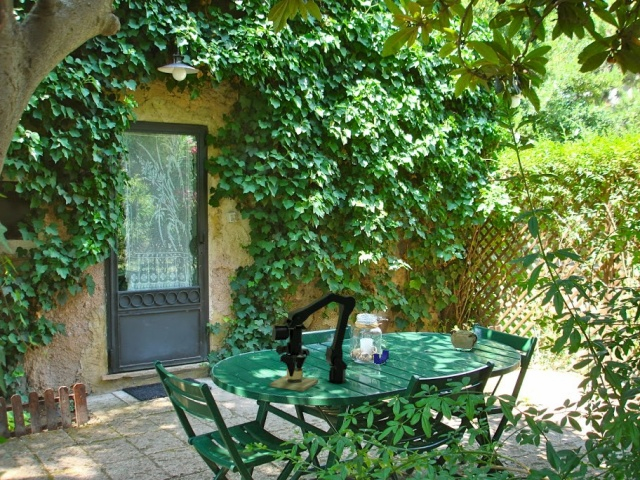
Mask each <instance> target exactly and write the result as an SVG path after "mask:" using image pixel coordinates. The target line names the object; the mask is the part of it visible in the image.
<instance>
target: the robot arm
mask: <svg viewBox="0 0 640 480" xmlns="http://www.w3.org/2000/svg"><path fill="white" fill-rule="evenodd" d="M331 303H336V304H338V306H337V307H338V317H337V321H336V327H335V331H334V335H333V340H332V343H331V345H330V347H328V346H326V351H325V353H324V356H325V360H326V362H327V363H328V364H329V367H330V368H329V371H328V382H329V383H336V384H343V383H345V382H347V379H346V370H347V368H348V364H347V363H346V362H345V360H343V357H344V351H343V345H344V344H343V343H344V339H345V336H346V332H347V326H348V323H349V319H350V315H352V313H353V311H354V309H355V307H356V305H357V300H356V298H355V297H354V296H351V295H348V294H343V295H340V294H336V293H334V292H331V291H328V292H326V293H325V294H324V295H322V296H320V297H319V298H317V299H316V300H314V301H312V302H310V303H309V304H307V305H305V306H303V307H299V308H296V309H294V310H291V311H290V312H289V313H288V316H287V319H286V320H285V321H284V322H283V324H273V328H272V331H271V338H272V339H271V340H273V341H287V340H288V341H287V342H286V344H285V345H281V344H279V345H276V347H275V352H276V354H277V355H278V356H279V355H280V357H279V361H280V362H281V363H284V364H285V365H286V367H287V368H286V369H288V371H289V374H290V376H291V377H292V376H293V374H294V371H295V368H301V369H303V366H304V364H305V362H306V360H307V359H308V357H309V356H310V350H309V348H303V345H304V341H303V330H307V329H308V328H307V327H306V326H305V325H304V323H305V322H306V321H307V320H308V319H309V317H311V315H313V314H315V313H317V312H318V311H320V310H321V309H322V308H324V307H326V306H328V305H329V304H331Z"/></svg>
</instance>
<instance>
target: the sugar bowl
mask: <svg viewBox="0 0 640 480" xmlns="http://www.w3.org/2000/svg"><path fill="white" fill-rule="evenodd" d="M463 327H464V328H463ZM450 342H451V344H452V346H453V347H454V349H455V348H463V349H471V348H473V349H474V348H475V347H476V345H477V342H478V335H477V334H476V333H474V332H472V331H470V330H468V329H467V326H466V324H461V325H460V329H459V330H454V329H452V330H451V332H450Z"/></svg>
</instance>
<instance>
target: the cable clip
mask: <svg viewBox="0 0 640 480" xmlns="http://www.w3.org/2000/svg"><path fill="white" fill-rule="evenodd" d="M375 353H376V354H374V363H376V364H381V363H384V362H386V360H387V359H389V360H390V350H387V349H382V353H381V356H380V353H377V352H375ZM386 363H387V362H386Z"/></svg>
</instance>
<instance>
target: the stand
mask: <svg viewBox="0 0 640 480" xmlns="http://www.w3.org/2000/svg"><path fill="white" fill-rule="evenodd" d="M295 371H298V369H297V368H295ZM318 383H319V379H318V378H312V377H304V376H303V378H302V379H288V378H287V374H285V375H283V376H282V377H280V378H278V379H276V380H274V381H272V382H270V383H269V387H271V388H279V389H286V390H293V391H299V392H305V391H307V390H308V389H310V388H312V387H313V386H315V385H317V384H318Z"/></svg>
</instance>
